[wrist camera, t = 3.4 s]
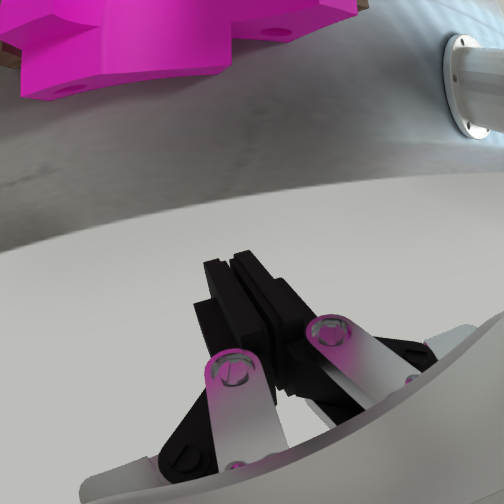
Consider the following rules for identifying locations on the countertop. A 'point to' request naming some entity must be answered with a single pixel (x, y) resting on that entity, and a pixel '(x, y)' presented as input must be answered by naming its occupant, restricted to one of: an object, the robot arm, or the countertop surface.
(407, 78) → the countertop surface
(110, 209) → the countertop surface
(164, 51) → the toy block
